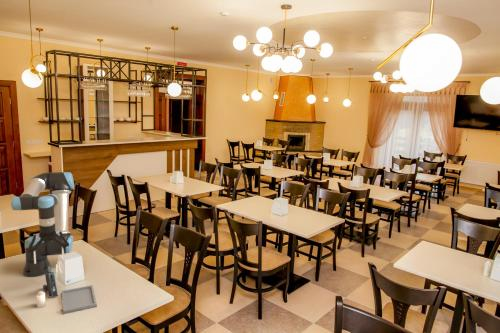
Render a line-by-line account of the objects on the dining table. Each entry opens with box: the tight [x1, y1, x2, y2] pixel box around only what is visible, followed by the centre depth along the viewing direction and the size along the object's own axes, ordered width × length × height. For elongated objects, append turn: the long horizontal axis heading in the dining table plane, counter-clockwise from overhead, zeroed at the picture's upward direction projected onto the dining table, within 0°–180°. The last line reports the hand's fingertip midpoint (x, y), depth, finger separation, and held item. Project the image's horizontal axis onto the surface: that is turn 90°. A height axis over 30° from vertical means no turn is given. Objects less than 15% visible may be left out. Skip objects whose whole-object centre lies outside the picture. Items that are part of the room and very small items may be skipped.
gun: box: [42, 266, 59, 298], centre depth 199 cm, size 3×17×15 cm
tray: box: [61, 284, 98, 315], centre depth 194 cm, size 22×16×2 cm
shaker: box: [35, 290, 46, 309], centre depth 186 cm, size 4×4×9 cm
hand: (49, 260), depth 195 cm, fingers open, 13 cm apart
